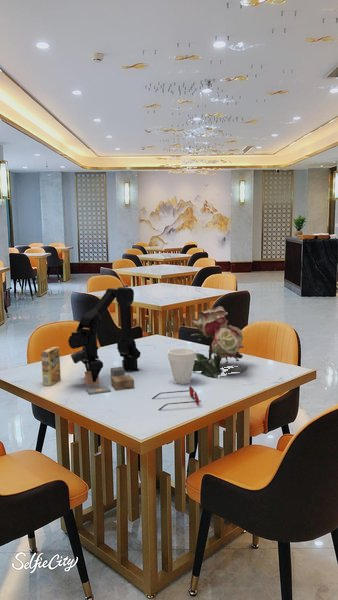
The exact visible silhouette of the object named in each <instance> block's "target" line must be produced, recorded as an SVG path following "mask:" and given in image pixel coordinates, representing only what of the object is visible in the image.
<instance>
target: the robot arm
mask: <svg viewBox="0 0 338 600" xmlns="http://www.w3.org/2000/svg"><path fill="white" fill-rule="evenodd" d="M134 298H135V292H134V289H133V288H131V287H125V286H119V287H117V288H107V289H106V290H105V293H104V294H103V295H102V296H101V298H100V299H99V301H98V302H97V303H96V304H95V305H94V307H93V308H92V309H91V310H89V311H87V312H86V313H85V314H84V315H82V316H81V318H80V321H79V323H78V325H77V327H76V330H75V331H73V332H71V335H70V336H69V337H68V340H67V342H68V345H69V347H70V348H71V349H72V350H75V349H80V348H81V349H80V350H78V351H76V352H74V353H72V354H70V357H71V360H72V362H73V363H74V364H78V363H79V362H81V363H82V364H84V366H85V370H86V371H91V375H92V380H93V382H96V380H97V377H98V375H99V374H100V373H101V371H102V369H103V368H104V363H103V361H102V360H101V359H99V358H100V356H99V355H98V350H99V346H98V334H101V330H99V329H98V328H99V326H100V324H101V322H102V317H103V315H104V313H106V312H107V309H109V307H110V306H111V305H112V303H113V302H114V301H115V300H116V303H117V304H118V306H119V312H120V313H119V315H120V335H121V337H120V338H119V340H117V341H116V344H117V348H116V349H117V352H118V354H119V356H120V357H122V360H121V367H122V368H123V369H124V372H126V373H127V372H134V371H135V372H136V371H139V370H140V369H139V368H138V359H139V358H140V357H141V354H142V352H141V351H140V350H139V349H138V348H137V344H136V343H137V342H136V341H135V339H134V338H133V337H134V336H133V333H132V332H133V331H132V329H133V328H132V311H131V310H132V309H131V306H132V304H133V302H134V300H135V299H134ZM86 371H85V372H86Z"/></svg>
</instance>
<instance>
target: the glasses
mask: <svg viewBox="0 0 338 600" xmlns="http://www.w3.org/2000/svg"><path fill="white" fill-rule="evenodd" d="M185 392H189V397H190V396H191V397H190V398H192V400H194V401H184V402H183V401H182V402H171V403H165V404H164V405H162V406H161V407H160V408H158V410H160V411H161V410H162V409H163V408H165V407H166V406H168V405H177V404H179V405H180V404H186V403H187V404H189V403H195V404H197V405H196V406H198V405H199V404H200V403H201V402H202V401H201V399H199V396H198V393H197V391H195V390H194V387H192V385H190V386H189V389H188V390H177V391H166V392H160V393H157V394H155V395H154V396H153V397H152V398H151V399H152V400H154V399H155V398H157V397H158V396H159V395H161V394H173V393H185Z"/></svg>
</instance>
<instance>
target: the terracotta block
mask: <svg viewBox="0 0 338 600" xmlns="http://www.w3.org/2000/svg"><path fill="white" fill-rule="evenodd" d="M84 383H85V385H87V387H89V386H95V385H99V384H100V377H99V375H98V377H97V380H96V382H93V380H92V375H91V371H84Z"/></svg>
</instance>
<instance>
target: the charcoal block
mask: <svg viewBox="0 0 338 600" xmlns="http://www.w3.org/2000/svg"><path fill="white" fill-rule="evenodd" d="M125 372H126V371H125V370H124V369H123V368H122V366H116V367H110V378H111V377H112V376H122V375H125V374H126V373H125Z"/></svg>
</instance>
